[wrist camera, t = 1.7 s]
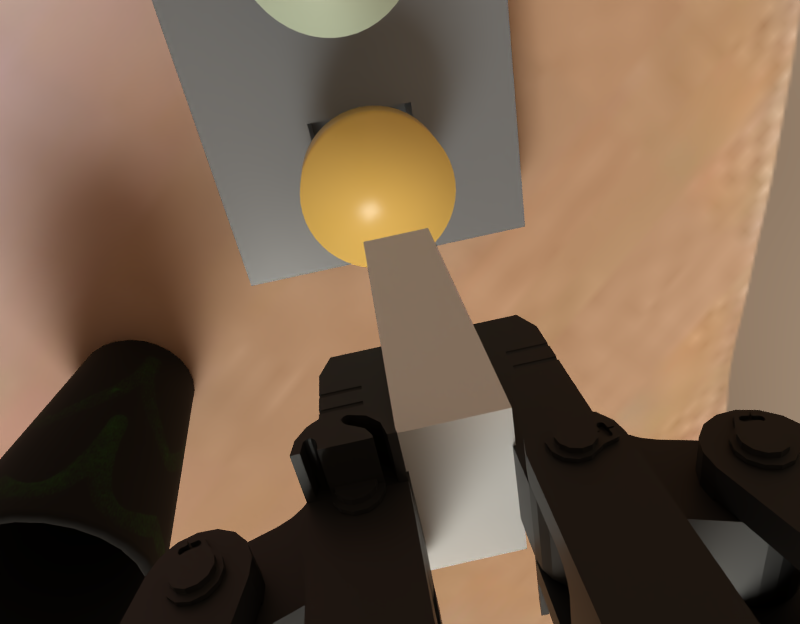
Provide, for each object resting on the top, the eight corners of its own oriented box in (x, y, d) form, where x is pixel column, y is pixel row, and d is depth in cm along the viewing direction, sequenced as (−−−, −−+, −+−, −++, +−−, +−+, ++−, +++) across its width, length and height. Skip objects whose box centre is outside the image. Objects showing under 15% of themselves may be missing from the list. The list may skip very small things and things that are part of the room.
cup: (109, 460, 32) (6, 686, 21) (24, 351, 28) (-151, 562, 18) (239, 417, 32) (199, 626, 21) (171, 301, 28) (81, 486, 17)
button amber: (287, 110, 22) (280, 134, 18) (422, 81, 22) (444, 99, 18) (321, 237, 24) (321, 281, 20) (442, 210, 24) (464, 250, 20)
